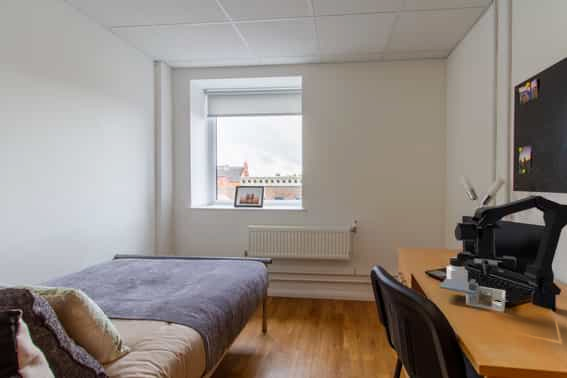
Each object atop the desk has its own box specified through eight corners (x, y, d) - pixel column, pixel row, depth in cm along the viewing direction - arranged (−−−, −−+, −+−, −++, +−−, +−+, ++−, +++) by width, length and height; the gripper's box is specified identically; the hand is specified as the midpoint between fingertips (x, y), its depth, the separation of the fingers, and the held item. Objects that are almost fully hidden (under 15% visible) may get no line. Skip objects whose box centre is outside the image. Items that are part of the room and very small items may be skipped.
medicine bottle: (468, 286, 144) (468, 260, 144) (451, 285, 146) (451, 259, 146) (462, 281, 151) (462, 256, 151) (446, 280, 153) (446, 256, 153)
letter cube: (492, 303, 123) (492, 292, 123) (491, 306, 120) (491, 295, 120) (480, 300, 126) (480, 290, 126) (478, 304, 122) (478, 293, 122)
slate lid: (478, 285, 130) (478, 278, 130) (474, 294, 121) (474, 286, 120) (445, 280, 137) (445, 273, 137) (439, 288, 128) (439, 280, 128)
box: (505, 303, 125) (505, 290, 125) (503, 314, 115) (503, 300, 115) (469, 296, 132) (470, 284, 132) (465, 306, 122) (465, 293, 122)
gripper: (516, 239, 123) (516, 279, 123) (461, 235, 134) (461, 272, 135) (515, 244, 114) (515, 288, 115) (456, 239, 125) (456, 279, 126)
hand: (485, 281), depth 123 cm, fingers closed
